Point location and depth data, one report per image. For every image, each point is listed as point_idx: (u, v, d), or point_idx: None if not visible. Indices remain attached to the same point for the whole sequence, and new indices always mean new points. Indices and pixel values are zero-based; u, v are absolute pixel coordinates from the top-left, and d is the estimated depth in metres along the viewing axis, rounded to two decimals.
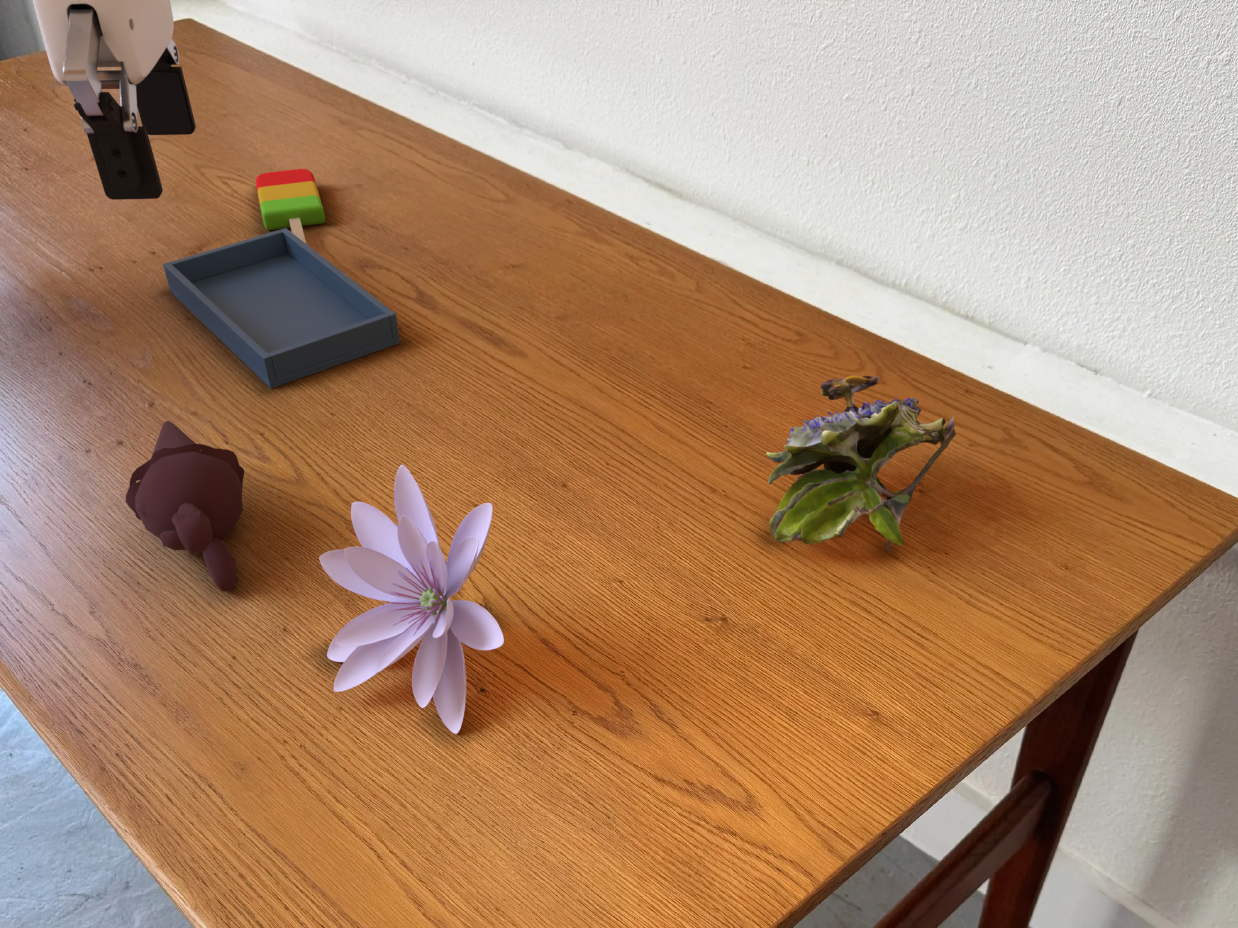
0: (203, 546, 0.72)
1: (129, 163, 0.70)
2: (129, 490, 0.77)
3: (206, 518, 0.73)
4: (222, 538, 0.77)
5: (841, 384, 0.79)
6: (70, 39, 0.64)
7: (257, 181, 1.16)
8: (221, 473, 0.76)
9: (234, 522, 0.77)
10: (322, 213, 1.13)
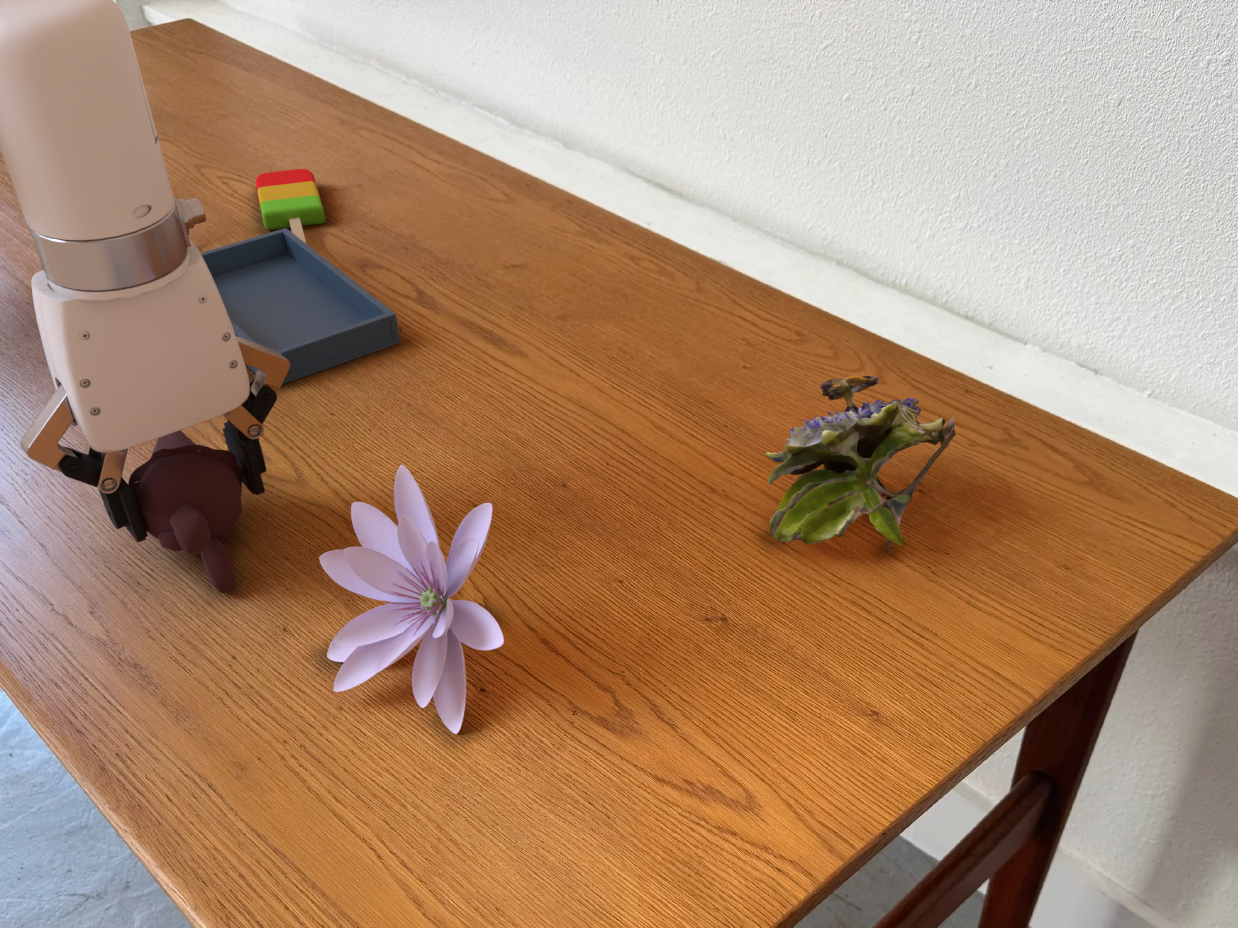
0: (201, 547, 0.72)
1: (110, 510, 0.74)
2: None
3: (204, 520, 0.73)
4: (221, 539, 0.77)
5: (841, 384, 0.79)
6: (41, 414, 0.70)
7: (257, 181, 1.16)
8: (220, 474, 0.76)
9: (233, 523, 0.77)
10: (322, 213, 1.13)
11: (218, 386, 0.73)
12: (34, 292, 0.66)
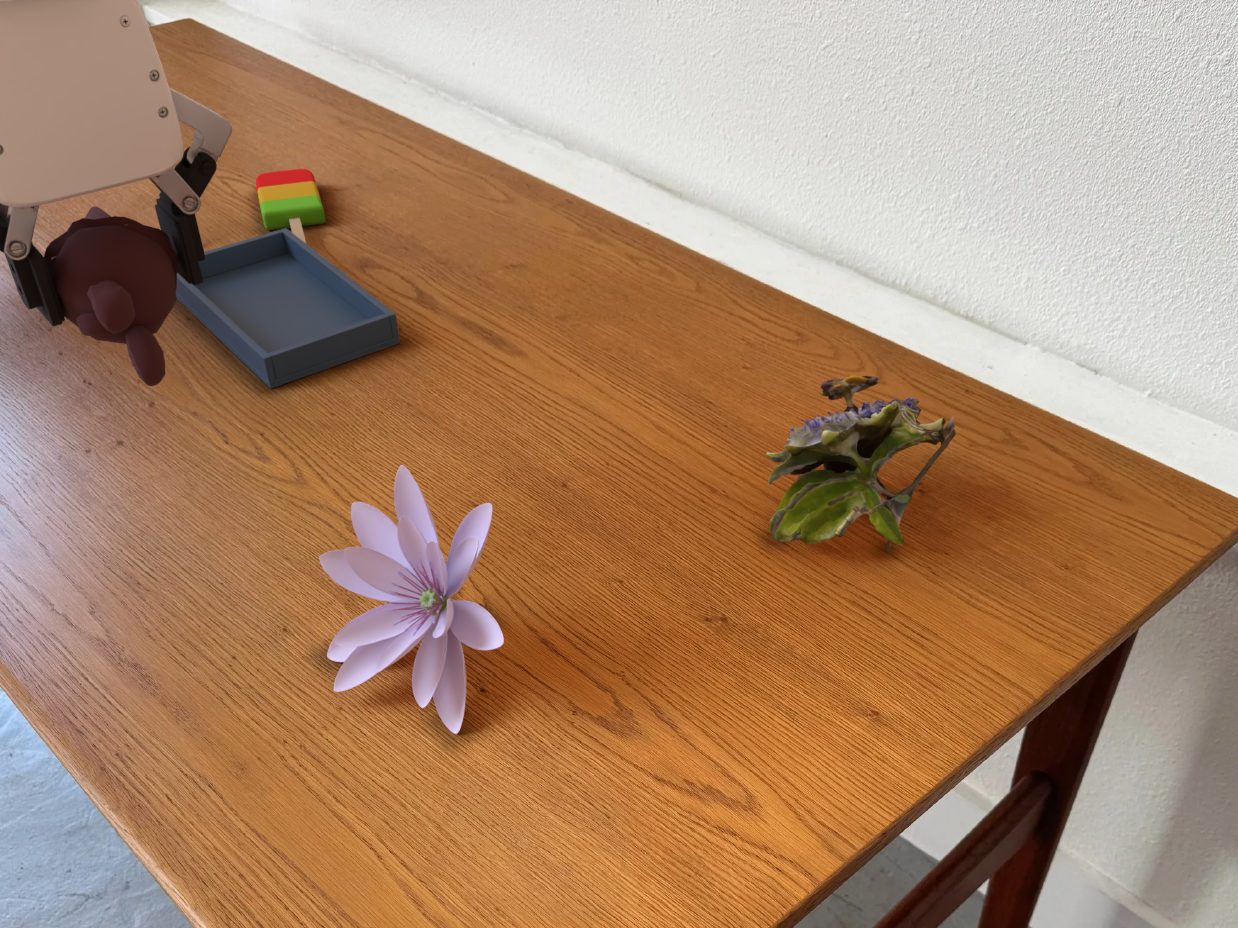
0: (123, 324, 0.63)
1: (19, 284, 0.65)
2: None
3: (128, 295, 0.63)
4: (150, 329, 0.68)
5: (841, 384, 0.79)
6: None
7: (257, 181, 1.16)
8: (150, 251, 0.66)
9: (164, 311, 0.68)
10: (322, 213, 1.13)
11: (145, 137, 0.63)
12: None
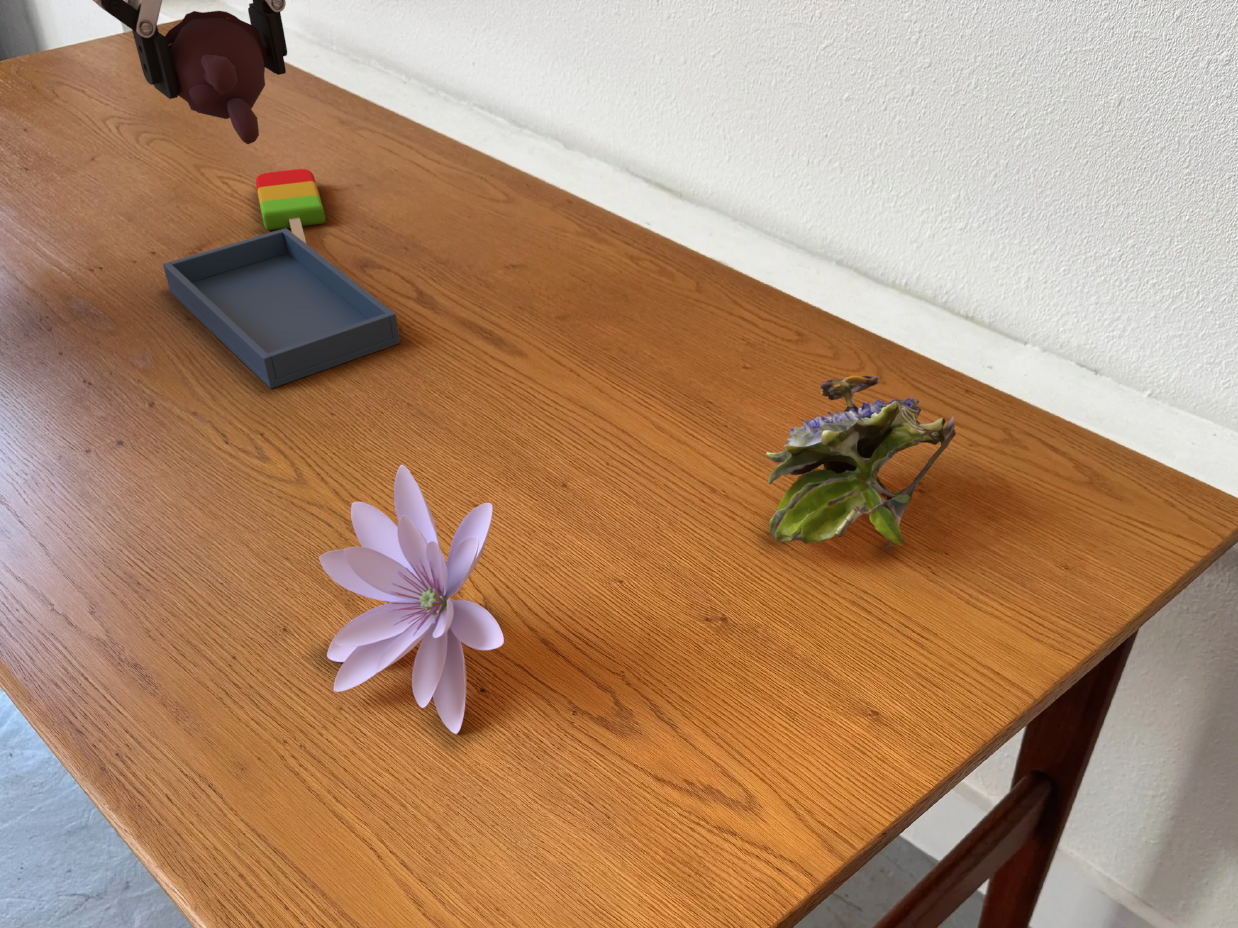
0: (229, 85, 0.80)
1: (146, 61, 0.82)
2: None
3: (232, 64, 0.81)
4: None
5: (841, 384, 0.79)
6: None
7: (257, 181, 1.16)
8: (246, 39, 0.84)
9: (257, 89, 0.85)
10: (322, 213, 1.13)
11: None
12: None
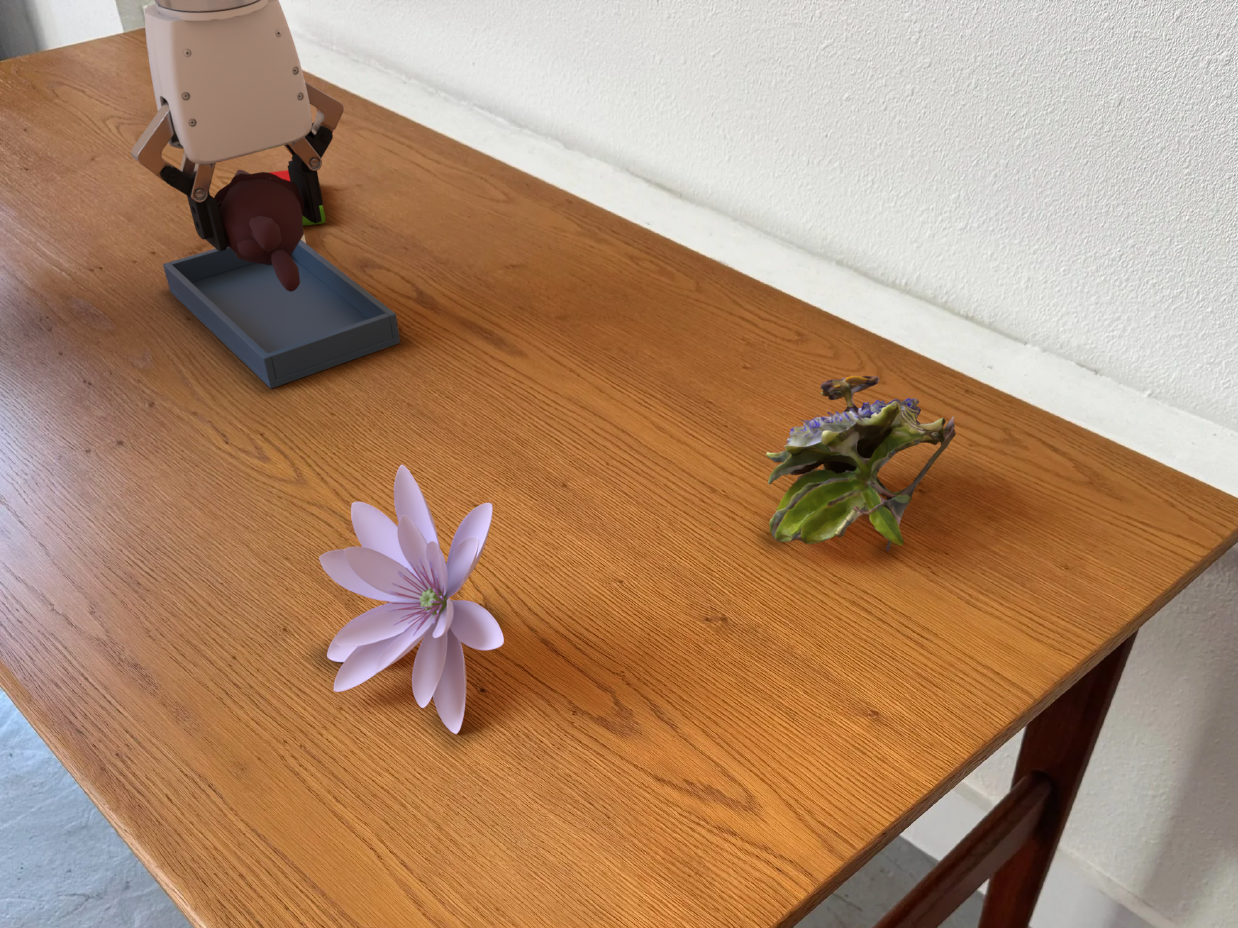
0: (274, 244, 0.90)
1: (198, 220, 0.92)
2: None
3: (277, 224, 0.90)
4: (287, 253, 0.94)
5: (841, 384, 0.79)
6: (148, 127, 0.87)
7: None
8: (287, 196, 0.93)
9: (297, 240, 0.94)
10: (322, 213, 1.13)
11: (288, 114, 0.90)
12: (147, 18, 0.83)
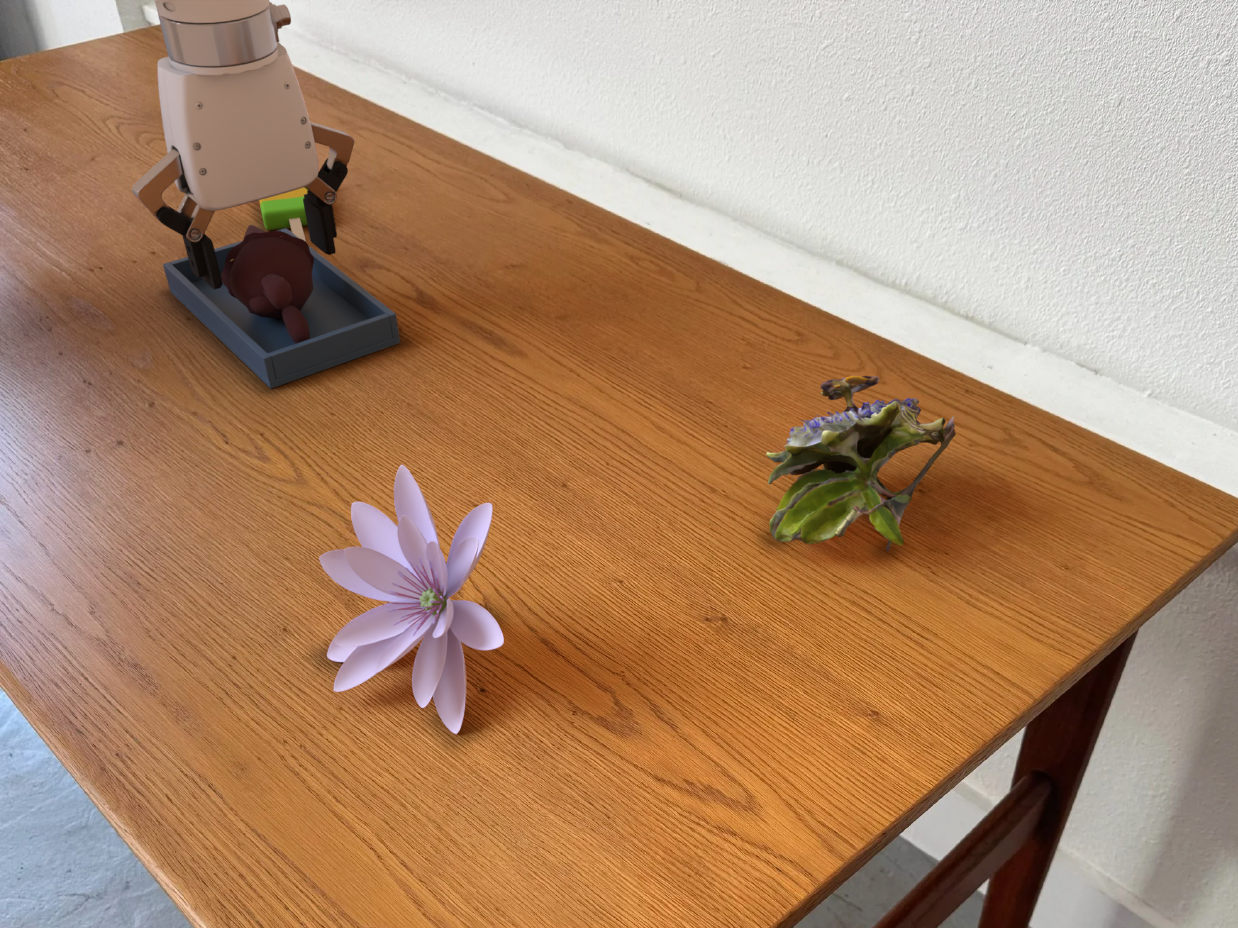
0: (285, 302, 0.93)
1: (193, 259, 0.93)
2: (224, 268, 0.97)
3: (288, 283, 0.93)
4: (297, 308, 0.98)
5: (841, 384, 0.79)
6: (154, 167, 0.88)
7: None
8: (298, 254, 0.96)
9: (307, 295, 0.98)
10: None
11: (295, 162, 0.92)
12: (160, 71, 0.85)
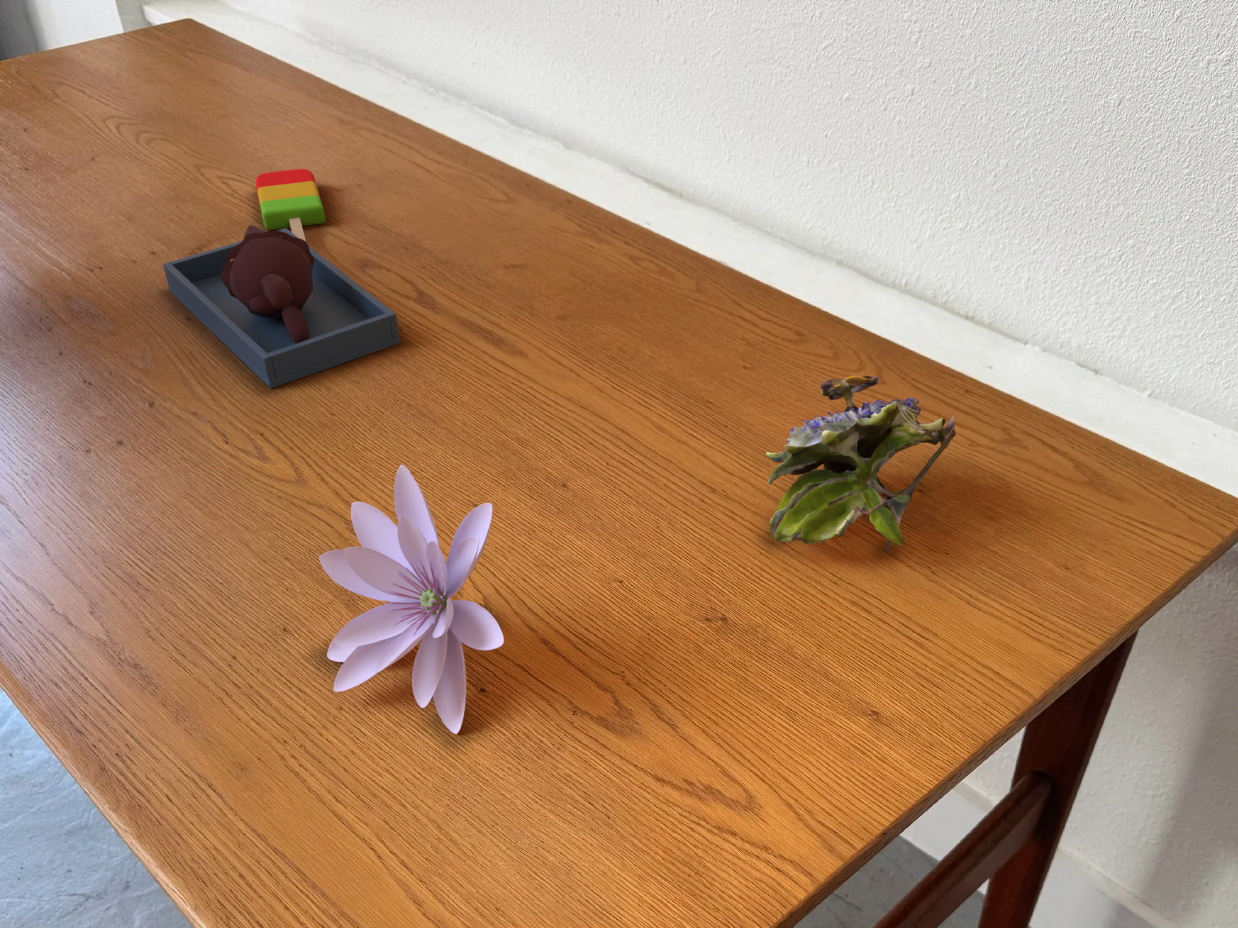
0: (285, 302, 0.93)
1: None
2: (224, 268, 0.97)
3: (288, 283, 0.93)
4: (297, 308, 0.98)
5: (841, 384, 0.79)
6: None
7: (257, 181, 1.16)
8: (298, 254, 0.96)
9: (307, 295, 0.98)
10: (322, 213, 1.13)
11: None
12: None
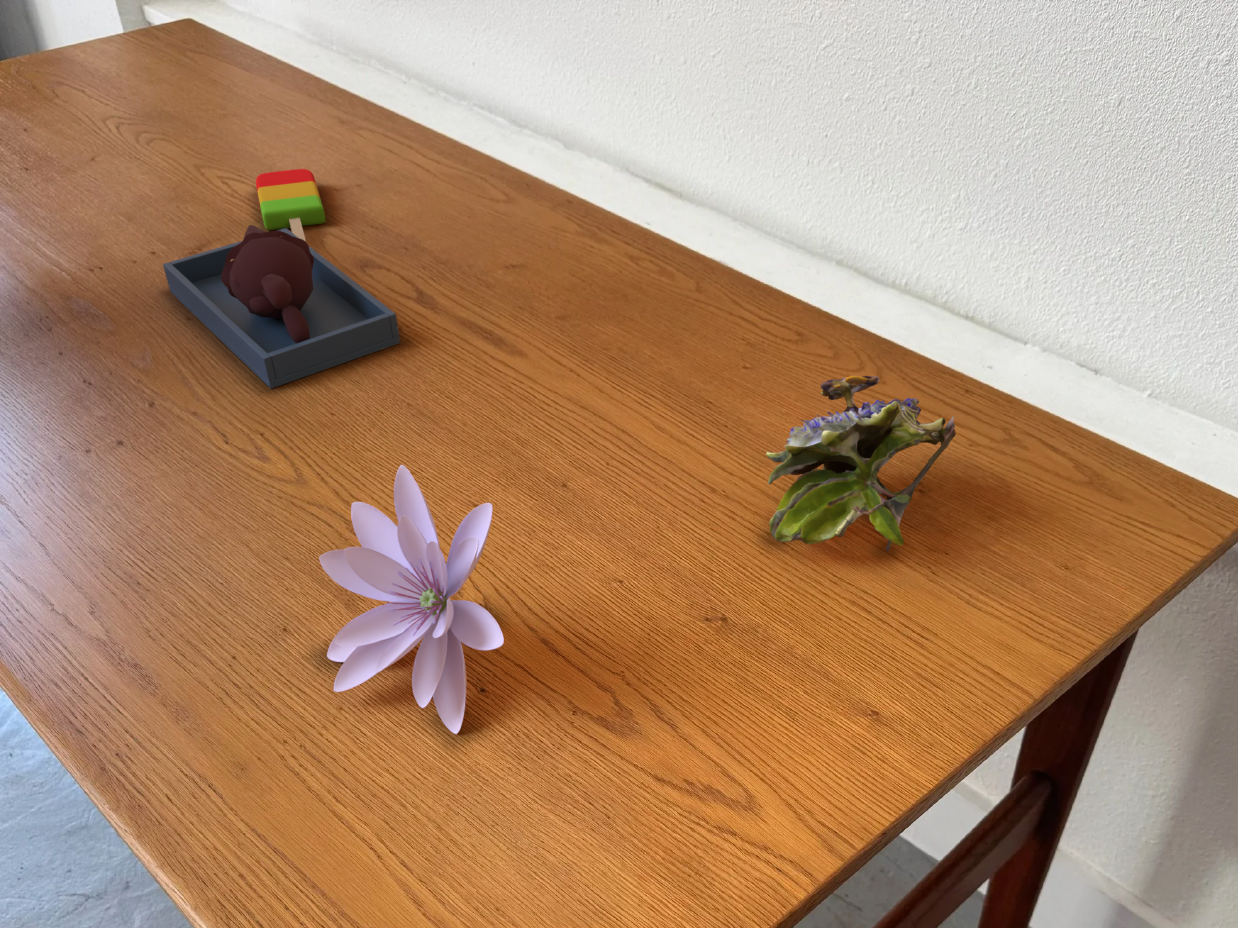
0: (285, 302, 0.93)
1: None
2: (224, 268, 0.97)
3: (288, 283, 0.93)
4: (297, 308, 0.98)
5: (841, 384, 0.79)
6: None
7: (257, 181, 1.16)
8: (298, 254, 0.96)
9: (307, 295, 0.98)
10: (322, 213, 1.13)
11: None
12: None
